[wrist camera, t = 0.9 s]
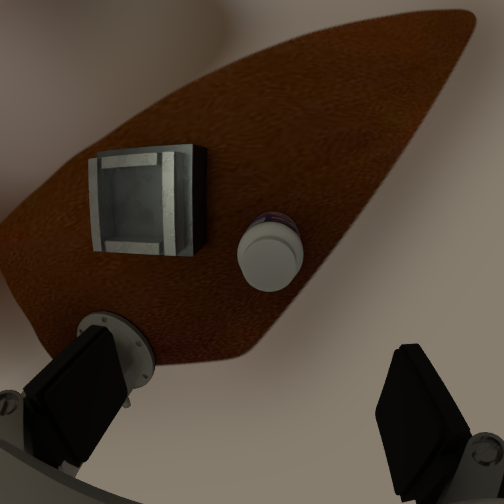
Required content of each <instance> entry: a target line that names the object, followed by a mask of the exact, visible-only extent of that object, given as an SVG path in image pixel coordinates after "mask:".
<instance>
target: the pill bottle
mask: <svg viewBox="0 0 504 504" xmlns="http://www.w3.org/2000/svg"><path fill="white" fill-rule="evenodd" d="M237 257H238V263H239V266H240V268H241V270H242V272H243V275H244V277H245V279H246V280H247V282H248V283H249V284H250V285H251V286H253V287H254V288H256V289H258V290H261V291H265V292H273V291H278V290H280V289H283V288H284V287H286V286H287V285H288V284H289V283H290V282H291V281H292V279H293V278H294V277H295V276H296V274H297V273H298V272H299V270H300V268H301V265H302V262H303V246H302V242H301V237H300V233H299V230H298V228H297V226H296V224H295V223H294V221H293V220H292V219H291V218H289V217H288V216H286V215H284V214H282V213H279V212H267V213H264V214H262V215H260V216H258V217H257V218H256V219H254V221H253V222H252V223H251V224H250V226H249V227H248V229H247V230H246V232H245V233H244V235H243V236H242V238H241V241H240V243H239V246H238V251H237Z"/></svg>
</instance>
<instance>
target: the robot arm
mask: <svg viewBox="0 0 504 504" xmlns="http://www.w3.org/2000/svg"><path fill="white" fill-rule="evenodd" d="M154 370H155V358H154V354H153V351H152V349H151V347H150V345H149V343H148V341H147V340H146V338H145V337H144V336H143V334H142V333H141V332H140V331H139V330H138V329H137V328H136V327H135V326H134V325H133V324H131V323H130V322H129V321H128V320H126V319H124V318H122V317H121V316H119V315H116V314H114V313H110V312H106V311H97V312H93V313H91V314H89V315H87V316H86V317H85V318H84V319H83V320H82V321H81V322H80V324H79V326H78V329H77V338H76V339H75V340H74V341H73V342H71V343H70V344H69V345H68V346H67V347H66V348H65V349H64V350H63V351H62V352H61V353H60V354H59V355H57V356H56V357H55V358H54V359H53V360H52V361H51V362H50V363H49V364H48V365H47V366H46V367H45V368H44V369H43V370H42V371H41V372H39V374H37V375H36V376H35V377H34V378H33V379H32V380H31V381H30V382H29V383H28V384H27V385H26V386H25V387H24V388H23V390H24V391H23V392H22V393H21V394H20V393H19V392H17V391H14V390H4V391H1V392H0V504H142V503H138V502H135V501H132V500H129V499H126V498H123V497H120V496H118V495H115V494H112V493H109V492H107V491H104V490H102V489H99V488H97V487H94V486H92V485H90V484H87V483H85V482H83V481H80V480H78V479H76V478H75V476H76V475H77V473H78V471H79V469H80V467H81V466H82V464H83V462H86V461H87V460H88V459H89V457H90V455H91V454H92V452H93V451H94V449H95V447H96V446H97V444H98V443H99V441H100V439H101V438H102V436H103V435H104V433H105V432H106V430H107V428H108V427H109V425H110V424H111V422H112V420H113V419H114V417H115V416H116V414H117V413H118V411H119V410H120V408H121V406H123V407H124V408H128V407H130V406H131V404H130V400H129V398H128V396H129V394H130V393H131V391H132V389H135V388H139V387H142V386H144V385H146V384H147V383H148V382H149V380H150V379H151V377H152V375H153V374H154ZM375 416H376V421H377V424H378V428H379V431H380V435H381V438H382V442H383V446H384V450H385V454H386V457H387V462H388V466H389V470H390V474H391V478H392V482H393V486H394V491H395V493H396V495H400V496H401V501H402V502H407V501H411V500H416V504H504V441H503V440H502V439H501V438H500V437H499V436H497V435H495V434H493V433H488V432H482V433H478V434H476V435H474V436H472V434H471V433H470V428H469V426H468V425H467V423H466V421H465V419H464V417H463V416H462V414H461V412H460V410H459V409H458V407H457V405H456V403H455V402H454V400H453V398H452V396H451V395H450V393H449V391H448V390H447V388H446V386H445V385H444V383H443V381H442V380H441V378H440V377H439V375H438V373H437V372H436V370H435V368H434V367H433V365H432V364H431V362H430V360H429V359H428V357H427V356H426V354H425V353H424V351H423V350H422V348H421V347H420V345H419V344H402V345H401V346H400V347H399V349H396V350H395V351H394V354H393V358H392V361H391V364H390V368H389V371H388V375H387V377H386V381H385V384H384V387H383V390H382V393H381V396H380V398H379V401H378V404H377V407H376V411H375Z"/></svg>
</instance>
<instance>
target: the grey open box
mask: <svg viewBox="0 0 504 504" xmlns="http://www.w3.org/2000/svg"><path fill="white" fill-rule="evenodd" d="M206 171H207V148H205V147H202V146H198V145H194V144H184V145H166V146H152V147H139V148H129V149H119V150H110V151H102V152H97V158H93V159H89V200H90V217H91V230H92V241H93V250H94V251H106V252H119V253H135V254H152V255H169V256H192V257H193V256H194V255H195V254H196V253H197V252H198V251H199V250H200V249H201V248H202V247H203V246H204V245H205V244H206V243H207V236H206Z"/></svg>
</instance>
